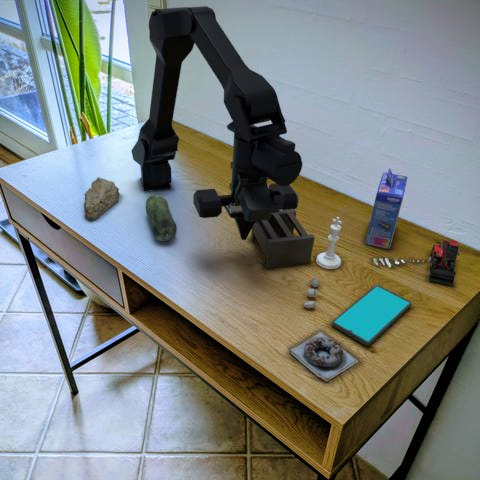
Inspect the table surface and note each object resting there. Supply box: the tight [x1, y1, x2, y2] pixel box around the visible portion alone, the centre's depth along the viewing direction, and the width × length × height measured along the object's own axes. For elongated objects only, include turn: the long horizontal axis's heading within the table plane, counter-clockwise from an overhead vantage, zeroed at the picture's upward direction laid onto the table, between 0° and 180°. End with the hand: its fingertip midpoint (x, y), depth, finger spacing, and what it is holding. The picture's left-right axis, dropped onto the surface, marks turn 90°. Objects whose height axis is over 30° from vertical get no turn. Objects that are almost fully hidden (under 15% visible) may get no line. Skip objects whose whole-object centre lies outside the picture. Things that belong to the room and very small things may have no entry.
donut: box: [289, 331, 359, 382], centre depth 77 cm, size 8×8×2 cm
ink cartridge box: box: [365, 167, 408, 250], centre depth 102 cm, size 10×6×14 cm, turn 161°
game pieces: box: [303, 277, 319, 309], centre depth 89 cm, size 8×2×2 cm
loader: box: [428, 237, 460, 286], centre depth 97 cm, size 12×5×5 cm, turn 162°
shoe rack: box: [250, 209, 316, 269], centre depth 98 cm, size 9×11×6 cm
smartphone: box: [331, 284, 412, 347], centre depth 86 cm, size 7×1×15 cm
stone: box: [83, 176, 121, 221], centre depth 108 cm, size 14×7×5 cm, turn 169°
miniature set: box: [372, 256, 432, 268], centre depth 99 cm, size 3×12×2 cm, turn 101°
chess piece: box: [315, 216, 343, 270], centre depth 95 cm, size 5×5×10 cm
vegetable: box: [145, 194, 178, 242], centre depth 102 cm, size 14×5×5 cm
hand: (243, 239), depth 96 cm, fingers closed
